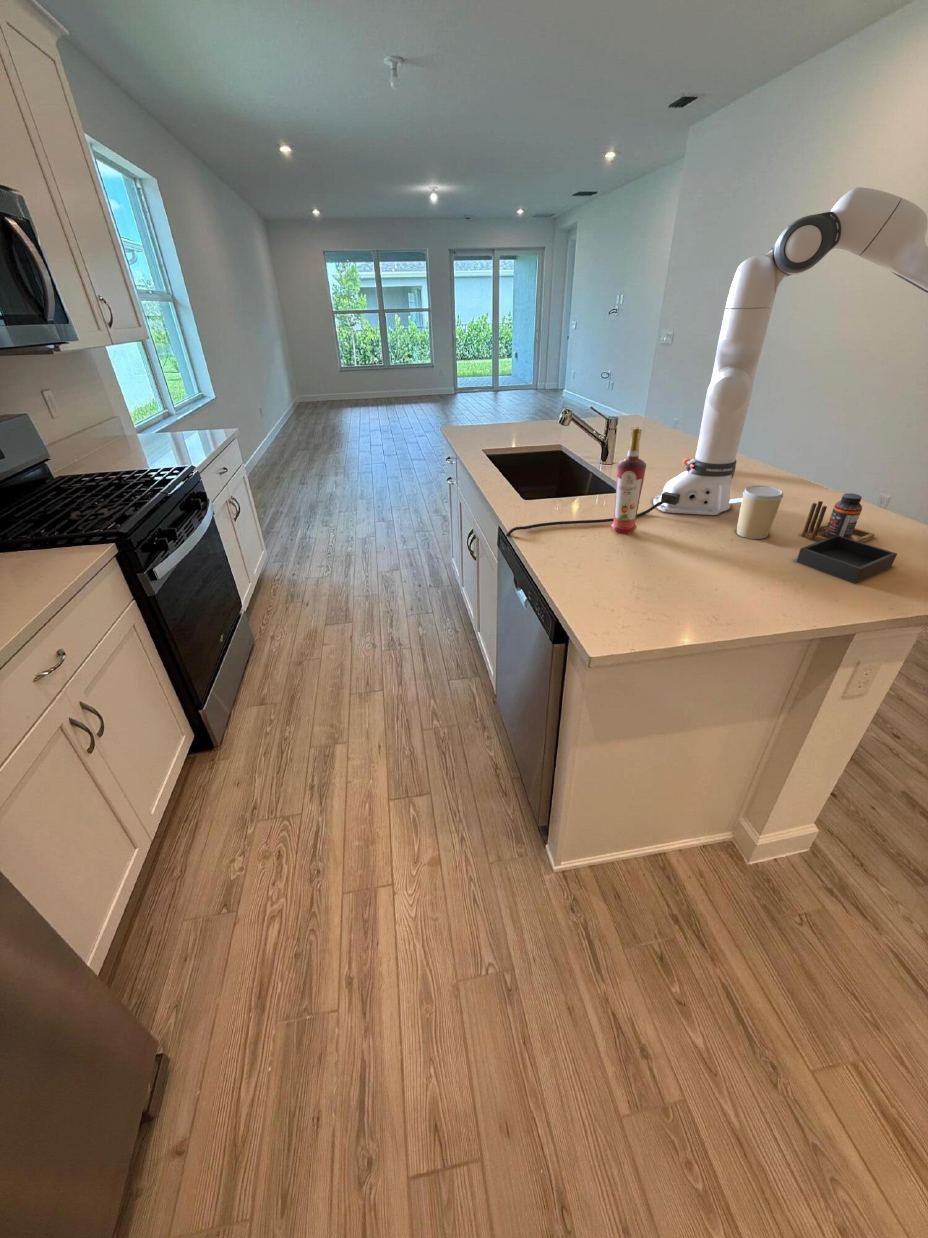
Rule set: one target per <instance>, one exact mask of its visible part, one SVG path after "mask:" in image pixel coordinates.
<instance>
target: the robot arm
mask: <svg viewBox="0 0 928 1238" xmlns="http://www.w3.org/2000/svg"><path fill="white" fill-rule="evenodd" d="M927 231H928V215H927V213H926V212H925V210H923V209H922V208H921V207H920V206H918V204H916V203H914V202H912V201H910V200H908V199H906V198H903V197H901V196H898V195H896V194H894V193H890V192H887V191H883V190H880V189H874V188H870V187H862V186H861V187H860V186H858V187H854V188H852V189H850V190H848V191H847V192H846V193H845V194H844V195H842V196H841V197H840V198H839V199H838V200H837V202H836V203H835V204H834V206H833V207H832V208H831V209H830V210H829V211H825V212H821V213H816V214H815V213H814V214H809V215H806V216H802V217H800V218H798V219H796V220H795V221H792V222H791V223H790V224H788V226H787V227H785V228H784V229H783V230H782V232H781V233H780V235H779V236H778V238H777V240H776V241H775V243H774V245H773V246H772V248H771V249H770V250H769V252H766V253H764V254H756V255H753V256H750V257H748V258H746V259H745V260H743V261H742V262H741V263H740V264H739V266H738V267H737V268H736V272H735V273H734V277H733V279H732V282H731V284H730V288H729V292H728V295H727V299H726V301H725V302H726V303H725V307H724V312H723V316H722V321H721V327H720V331H719V336H718V341H717V347H716V353H715V357H714V364H713V368H712V373H711V378H710V383H709V385H708V387H707V390H706V395H705V400H704V406H703V411H702V418H701V424H700V429H699V435H698V441H697V445H696V451H695V456H694V457H693V458H691V459H690V458H689V457H684V458H683V459H682V464H683V465H684V466H686V468H685V470H684V471H683V472H681V473H679V474H678V475H676V476H674V477H673V478H670V479H669V480H668V481H667V482H665V485H664V486H663V489H662V491H661V494H657V495H655V496H654V497H653V500H652V502H653V505H652V506H651V507H649V508H648V509H646V510H644V511H642V512H639V513H637V516H636V518H639V517H642V516H644V515H646V514H648V513H651V512H652V511H653V510H655V509H658V510H659V511H661V512H663V513H670V514H685V515H686V514H687V515H703V516H718V515H719V514H720V513H723V512H726V511H728V510H730V508H731V504H735V503H742V498H743V497H739V498H732V499H731V485H732V480H733V478H734V475H735V472H736V468H737V459H736V458H737V455H738V450H739V446H740V443H741V438H742V435H743V430H744V425H745V423H746V419H747V418H746V417H747V415H748V410H749V406H750V402H751V398H752V393H753V386H754V381H755V377H756V373H757V369H758V365H759V361H760V358H761V354H762V351H763V347H764V343H765V339H766V335H767V331H768V327H769V323H770V319H771V315H772V311H773V307H774V303H775V299H776V295H777V291H778V288H779V286H780V284H781V283H782V281H783V280H784V279H785V278H787V277H789V276H792V275H799V274H803V273H805V272H807V271H808V270H810V269H812V268H813V267H814V266H815V265H817V264H818V263H819V262H820V261H821V260H822V259H823V258H824V257H825V256H826V255H827V254H828V253H829V252H830V251H832V250H833V249H834V250H835V249H836V250H837V249H840V250H844V251H847V252H849V253H852V254H854V255H856V256H859V258H862V259H864V260H866V261H868V262H871V263H874V264H875V265H878V266H880V267H882V268H884V269H886V270H887V271H890V272H891V273H892V274H893V275H895V276H896V277H898V278H901V280H904V281H905V282H907V283H909V284H910V285H912V286H914V287H916V288H918V289H919V290H921V291H923V292H925V293H926V294H928V245H927V242H926V234H927ZM609 522H614V517H611V518H603V519H602V518H601V519H585V520H584V519H583V520H562V521H549V522H542V523H535V524H534V523H533V524H529V525H525V526H523V525H522V526H515V527H513V528H510V529H509V530H508V531H507V533H506V534H505V536H506V537H509V536H510V535H511V534H512V533H514V532H515V531H520V530H530V529H534V528H541V527H549V526H561V525H578V524H579V525H580V524H597V523H598V524H599V523H600V524H601V523H609Z"/></svg>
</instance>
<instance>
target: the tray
mask: <svg viewBox="0 0 928 1238" xmlns="http://www.w3.org/2000/svg"><path fill="white" fill-rule="evenodd" d="M826 538H827V539H824V540H821V541H816V542H814V543H810V544H808V545H805V546H802V547H800V549H799V552H798V555H797V557H796V561H795V562H796V563H799V564H801V565H804V566H807V567H808V568H809V567H810V568H812V569H815V570H818V571H820V572H823V573H826V574H829V575H832V576H833V577H834V576H835V577H837V578H839V579H841V580H845V581H848V582H849V583H853V584H857V583H859V582H861V581H865V580H866V579H868V578H871V577H873V576H875V575H877V574H880V573H882V572H884V571H886V570H889V569H891V568H892V566H893V564H894V562H895V560H896V557H897V556H898V553H897V552H895V551H890V550H887V549H884V548H881V547H877V546H874V545H872V544H868V543H866V542H865V543H864V542H859V541H855V539H852V538H850V539H849V538H846V537H843V536H839V535H835V536H832V537H829V538H828V537H826Z"/></svg>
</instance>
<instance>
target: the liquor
mask: <svg viewBox="0 0 928 1238" xmlns="http://www.w3.org/2000/svg"><path fill="white" fill-rule="evenodd" d="M642 430H643V427H639V426H632V427H631V428H630V442H629V447H628V451H627V455H626V457H625V458H624V459H621V460H620V461H619V462H618V463H617V466H616V467H617V470H616V481H615V498H614V499H615V501H614V512H613V518H614V521H612V524H611V528H612V529H613V530H614V531H615V532H616V533H618V534H623V535H625V534H630V533H632V532H633V531H635V530H636V529H637V525H636V521H637V517H636V516H637V514H638V512H639V511H638V510H639V505H640V499H641V494H642V489H643V485H644V480H645V474H646V469H647V463H646V462H645V461H644V460H643V459H641V458H640V440H641V437H642Z"/></svg>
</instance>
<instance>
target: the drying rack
mask: <svg viewBox="0 0 928 1238" xmlns="http://www.w3.org/2000/svg"><path fill="white" fill-rule="evenodd" d="M823 503H824V501H822V500H819V501H818V502H817V503H816V502H812V503H811V507H810V508H809V512H808V514H807V518H806V522H805V525H804V528H803V531H802V534H801V537H805V538H807V539H811V540H813V541H816V542H819V541H821V540H824V539H827V538H828V537H826V536H825V537H824V536H822V535H819V532H821V531H824V530H826V528H827V525H828V522H826V523H823V520H824V517H825V514H826V511H827V508H828V506H827V505H823ZM822 523H823V524H822ZM853 534H854V535H857V536H861V537H858V538H856V539H854V540H855V541H859V542H862V543H864V542H865V543H866V542H867V541H870V540H872V539H874V538H875V533H873V532H870V531H866V530H863V529H859V528H856V527H855V529H854V531H853Z"/></svg>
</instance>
